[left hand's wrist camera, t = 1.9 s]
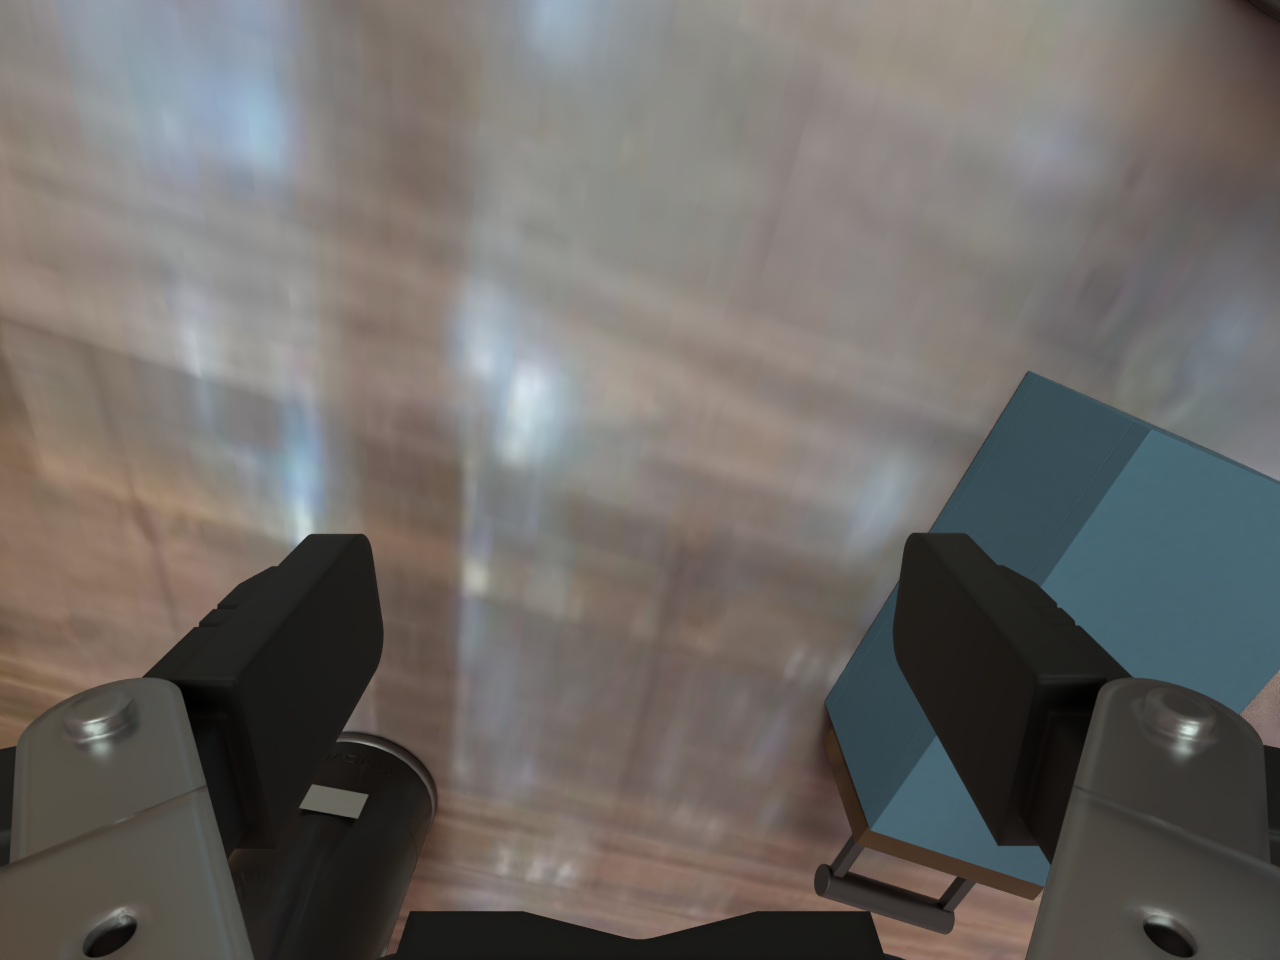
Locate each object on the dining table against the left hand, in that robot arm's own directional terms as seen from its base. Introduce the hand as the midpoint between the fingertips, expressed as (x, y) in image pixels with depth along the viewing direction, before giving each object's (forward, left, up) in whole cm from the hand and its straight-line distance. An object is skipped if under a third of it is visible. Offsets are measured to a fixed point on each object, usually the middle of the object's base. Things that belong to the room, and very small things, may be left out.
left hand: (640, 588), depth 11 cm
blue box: (-9, -22, -24) cm, 34 cm away
